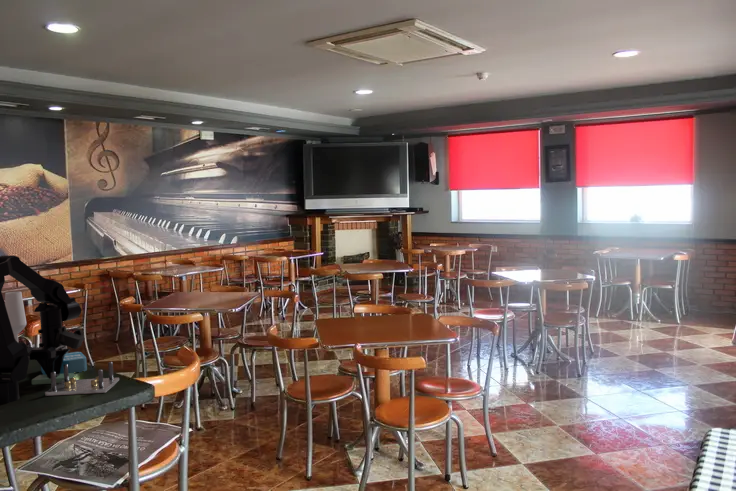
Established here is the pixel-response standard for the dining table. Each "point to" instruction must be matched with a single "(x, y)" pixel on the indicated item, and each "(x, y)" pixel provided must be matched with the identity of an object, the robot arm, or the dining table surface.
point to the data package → (73, 363)
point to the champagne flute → (15, 312)
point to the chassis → (82, 383)
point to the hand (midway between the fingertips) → (54, 376)
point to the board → (45, 380)
